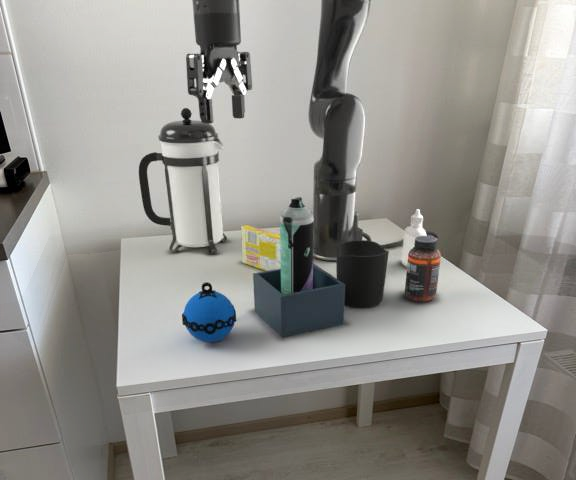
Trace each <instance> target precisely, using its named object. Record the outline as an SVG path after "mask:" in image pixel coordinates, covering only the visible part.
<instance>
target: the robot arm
mask: <svg viewBox="0 0 576 480" xmlns="http://www.w3.org/2000/svg"><path fill="white" fill-rule="evenodd" d="M371 1H372V0H321V1H320V19H319V30H318V41H317V53H316V63H315V69H314V75H313V80H312V87H311V93H310V99H309V105H308V112H307V113H308V114H307V115H308V123H309V127H310V130H311V132H312V133H313V134H314V135H315V136H316V137H317V138H319V139H321V140H323V141H322V143H323V144H322V153H321V156H320V158H319V159H318V160H316V161H315V162H314V164H313V181H312V182H313V183H312V185H313V187H312V188H313V189H312V191H313V194H312V195H313V196H312V199H313V200H312V212H313V218H314V231H313V258H316V259H319V260H323V261H331V262H333V261H335V262H336V250H337V246H338V245H339V244H341V243H344V242H347V241H355V240H363V238H364V239H365V240H367V241H372V238H371V236H370V235H369V234H368V233H366V232H363V231H364V230H363V228H361V227H359V212H357V211H356V197H357V178H358V176H357V175H358V168H359V166H360V164H361V162H362V157H363V149H364V148H363V147H364V137H365V126H366V114H365V109H364V105H363V103H362V101H361V100H360V98H359V97H358V96H356V95H355V94H353V93H349V92H347V90H348V77H349V70H350V64H351V62H352V57H353V55H354V52H355V50H356V48H357V45H358V43H359V41H360V39H361V37H362V34H363V32H364V30H365V27H366V25H367V22H368V18H369V15H370V9H371V3H372V2H371ZM192 13H193V24H194V38H195V44H196V45H197V46H199V48H200V50H199V53H187V54H186V55H185V62H186V63H185V64H186V66H185V67H186V80H187V81H186V83H187V93H188V95H189V96H193V97H195V98H196V99H197V102H198V114H199V119H200V121H202V123H207V124H213V123H214V110H213V99H212V95H213V92H214V89H215V88H217V87H218V85H219V83H223V82H224V84H226V85H227V86H228V87H229V90H230V91H231V93H232V94H233V95H232V94H231V109H232V110H231V113H232V117H233V118H234V119H244V118H245V113H246V108H245V107H246V106H245V105H246V104H245V95H246V94H247V92H248V91H252V89H253V77H252V75H253V74H252V63H251V54H250V52H249V51H238V49H237V48H238V47H237V46H239V45H240V44H241V43H242V35H241V33H242V32H241V14H240V13H241V12H240V0H192ZM244 76H245V82H244ZM425 232H426V235H427V236H432V237H435V238H437V239H439V238H440V235H439V233H437V232H436V231H433V230H425ZM403 240H404V238H403V239H401V240H398V241H394V242H391V243H386V244H380V245H381V246H382V247H383V248H384V249H390V248H395V247H399V246H403Z"/></svg>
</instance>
